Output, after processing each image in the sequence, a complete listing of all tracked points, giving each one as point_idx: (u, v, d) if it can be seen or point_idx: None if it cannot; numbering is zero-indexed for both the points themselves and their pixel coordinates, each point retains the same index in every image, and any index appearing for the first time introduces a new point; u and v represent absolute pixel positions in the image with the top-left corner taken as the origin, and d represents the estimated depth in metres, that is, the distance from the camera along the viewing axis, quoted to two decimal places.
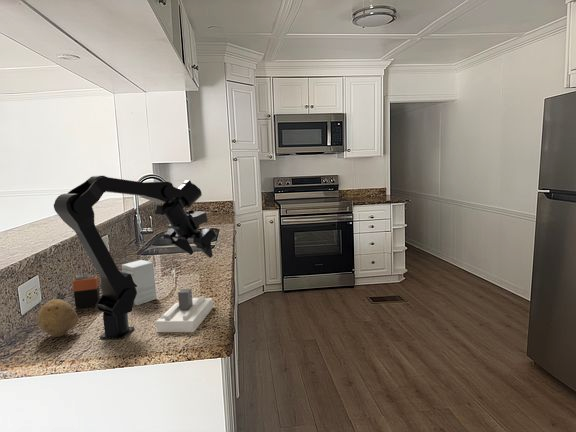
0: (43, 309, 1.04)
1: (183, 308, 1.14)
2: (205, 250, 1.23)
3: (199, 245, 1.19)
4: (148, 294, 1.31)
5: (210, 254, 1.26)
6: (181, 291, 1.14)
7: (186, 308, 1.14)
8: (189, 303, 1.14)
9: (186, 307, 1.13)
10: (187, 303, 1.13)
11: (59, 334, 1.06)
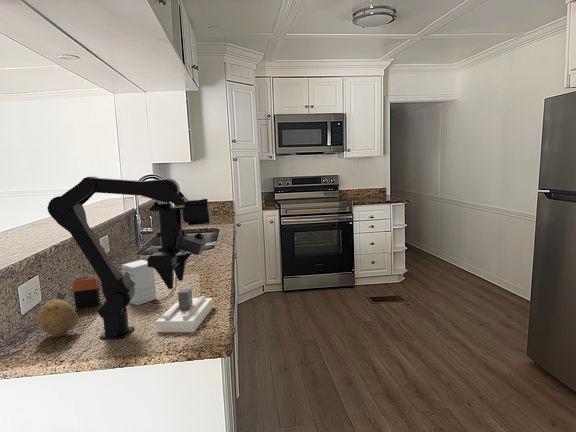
0: (43, 309, 1.04)
1: (183, 308, 1.14)
2: (161, 274, 1.03)
3: None
4: (148, 294, 1.31)
5: (168, 284, 1.04)
6: (181, 291, 1.14)
7: (186, 308, 1.14)
8: (189, 303, 1.14)
9: (186, 307, 1.13)
10: (187, 303, 1.13)
11: (59, 334, 1.06)
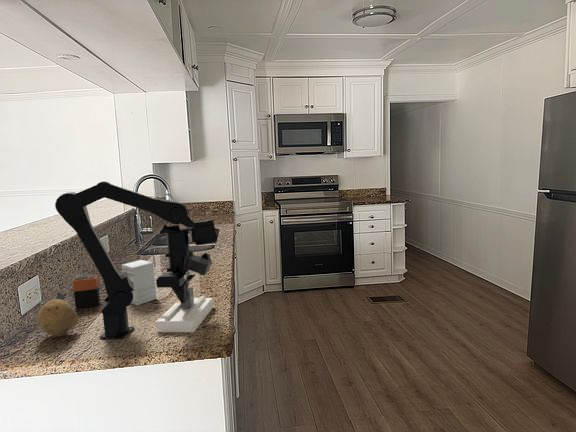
0: (43, 309, 1.04)
1: (185, 306, 1.15)
2: (174, 289, 1.11)
3: None
4: (148, 294, 1.31)
5: (181, 299, 1.12)
6: None
7: (188, 306, 1.15)
8: (190, 301, 1.15)
9: (188, 305, 1.15)
10: (189, 301, 1.14)
11: (59, 334, 1.06)
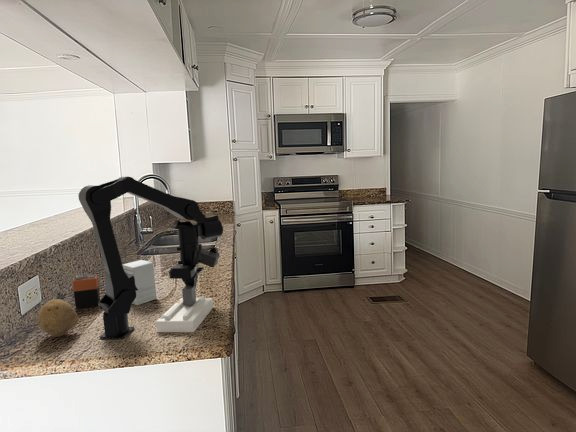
0: (43, 309, 1.04)
1: (187, 304, 1.17)
2: (185, 281, 1.19)
3: None
4: (148, 294, 1.31)
5: None
6: (185, 287, 1.17)
7: (190, 304, 1.17)
8: (193, 299, 1.17)
9: (190, 303, 1.17)
10: (191, 299, 1.16)
11: (59, 334, 1.06)
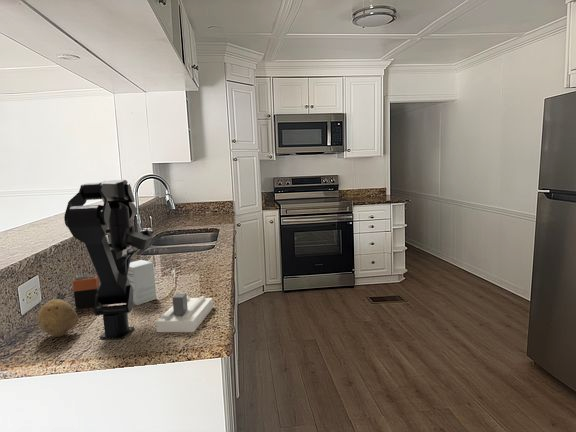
0: (43, 309, 1.04)
1: (178, 313, 1.10)
2: (115, 264, 1.16)
3: None
4: (148, 294, 1.31)
5: None
6: (176, 296, 1.10)
7: (181, 313, 1.09)
8: (184, 308, 1.10)
9: (181, 312, 1.09)
10: (182, 308, 1.09)
11: (59, 334, 1.06)
